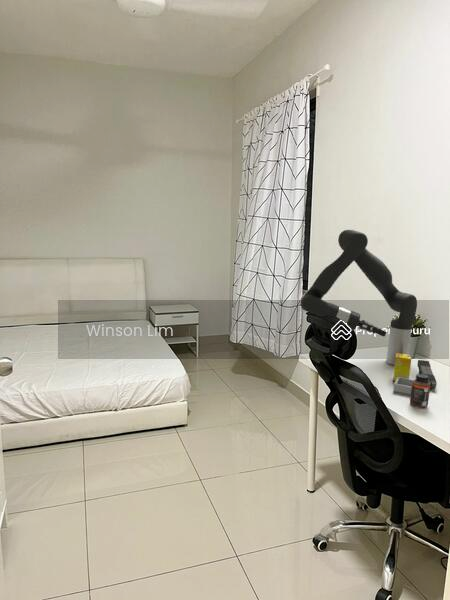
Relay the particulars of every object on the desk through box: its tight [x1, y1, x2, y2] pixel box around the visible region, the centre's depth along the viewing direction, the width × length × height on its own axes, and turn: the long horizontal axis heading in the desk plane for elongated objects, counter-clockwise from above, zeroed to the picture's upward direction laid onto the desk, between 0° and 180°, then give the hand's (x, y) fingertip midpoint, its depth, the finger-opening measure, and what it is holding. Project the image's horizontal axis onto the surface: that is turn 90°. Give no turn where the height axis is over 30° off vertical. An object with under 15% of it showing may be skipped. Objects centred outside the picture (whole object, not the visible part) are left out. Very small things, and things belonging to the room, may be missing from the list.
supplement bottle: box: [409, 373, 431, 409], centre depth 160 cm, size 6×6×11 cm
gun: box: [416, 359, 438, 391], centre depth 186 cm, size 4×20×10 cm, turn 167°
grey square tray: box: [392, 377, 414, 397], centre depth 174 cm, size 10×10×4 cm
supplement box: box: [392, 353, 412, 383], centre depth 185 cm, size 6×6×11 cm
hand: (383, 333), depth 186 cm, fingers open, 8 cm apart
